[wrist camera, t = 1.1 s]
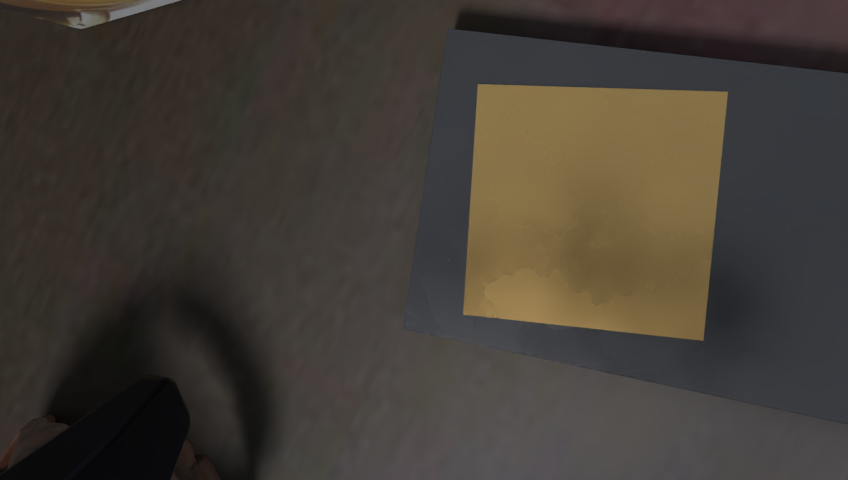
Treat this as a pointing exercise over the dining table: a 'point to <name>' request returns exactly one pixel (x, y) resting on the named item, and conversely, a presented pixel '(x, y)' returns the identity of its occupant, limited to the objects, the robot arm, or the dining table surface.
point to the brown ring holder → (191, 473)
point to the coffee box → (80, 10)
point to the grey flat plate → (641, 217)
